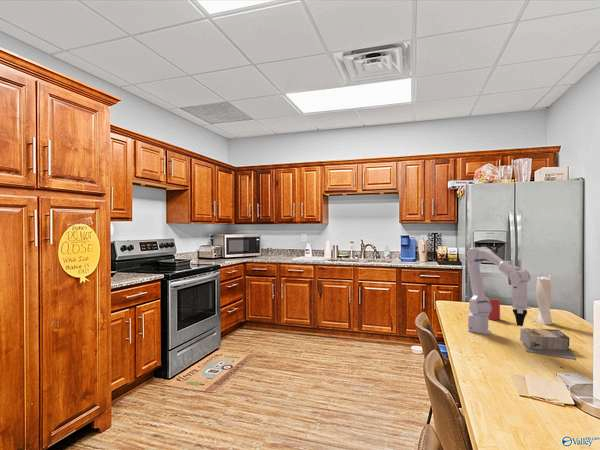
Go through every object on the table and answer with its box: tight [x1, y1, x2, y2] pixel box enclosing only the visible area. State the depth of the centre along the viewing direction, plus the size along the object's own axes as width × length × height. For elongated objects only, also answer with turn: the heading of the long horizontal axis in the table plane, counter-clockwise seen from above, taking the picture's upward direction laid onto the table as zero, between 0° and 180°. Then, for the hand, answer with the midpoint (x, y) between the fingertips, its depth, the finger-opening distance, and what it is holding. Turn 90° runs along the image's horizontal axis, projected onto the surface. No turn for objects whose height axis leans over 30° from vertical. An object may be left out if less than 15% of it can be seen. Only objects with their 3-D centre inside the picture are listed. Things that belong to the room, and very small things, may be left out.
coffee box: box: [519, 327, 571, 351], centre depth 157 cm, size 9×6×16 cm
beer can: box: [487, 297, 501, 321], centre depth 203 cm, size 7×7×12 cm
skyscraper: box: [533, 274, 555, 326], centre depth 194 cm, size 8×8×28 cm
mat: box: [525, 345, 577, 361], centre depth 152 cm, size 17×14×1 cm
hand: (519, 325), depth 158 cm, fingers closed
